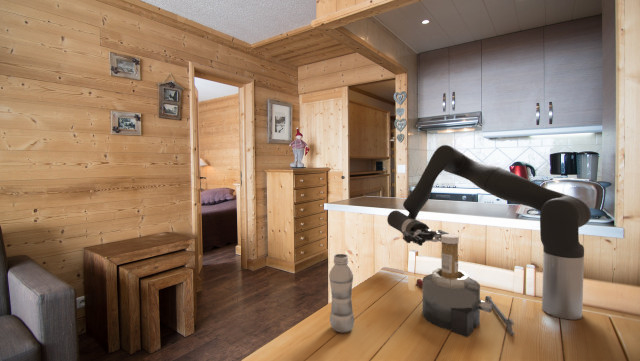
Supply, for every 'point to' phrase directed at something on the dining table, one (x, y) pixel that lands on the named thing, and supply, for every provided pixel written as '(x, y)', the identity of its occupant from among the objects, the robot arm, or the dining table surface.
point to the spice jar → (449, 255)
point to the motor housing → (453, 302)
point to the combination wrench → (501, 315)
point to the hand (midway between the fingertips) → (434, 241)
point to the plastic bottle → (341, 295)
